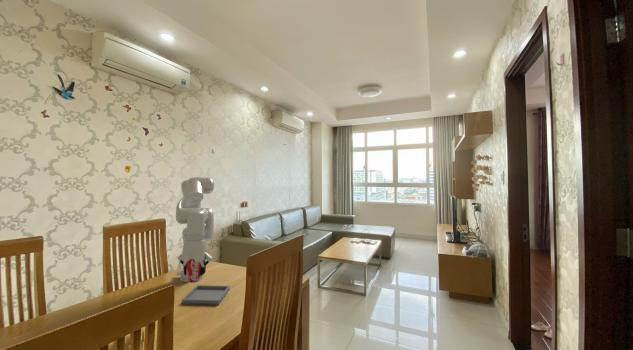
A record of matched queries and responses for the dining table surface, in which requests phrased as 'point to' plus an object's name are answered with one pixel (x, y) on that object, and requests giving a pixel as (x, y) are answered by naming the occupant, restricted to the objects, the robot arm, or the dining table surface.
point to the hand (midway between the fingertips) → (194, 273)
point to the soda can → (193, 271)
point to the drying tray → (206, 295)
